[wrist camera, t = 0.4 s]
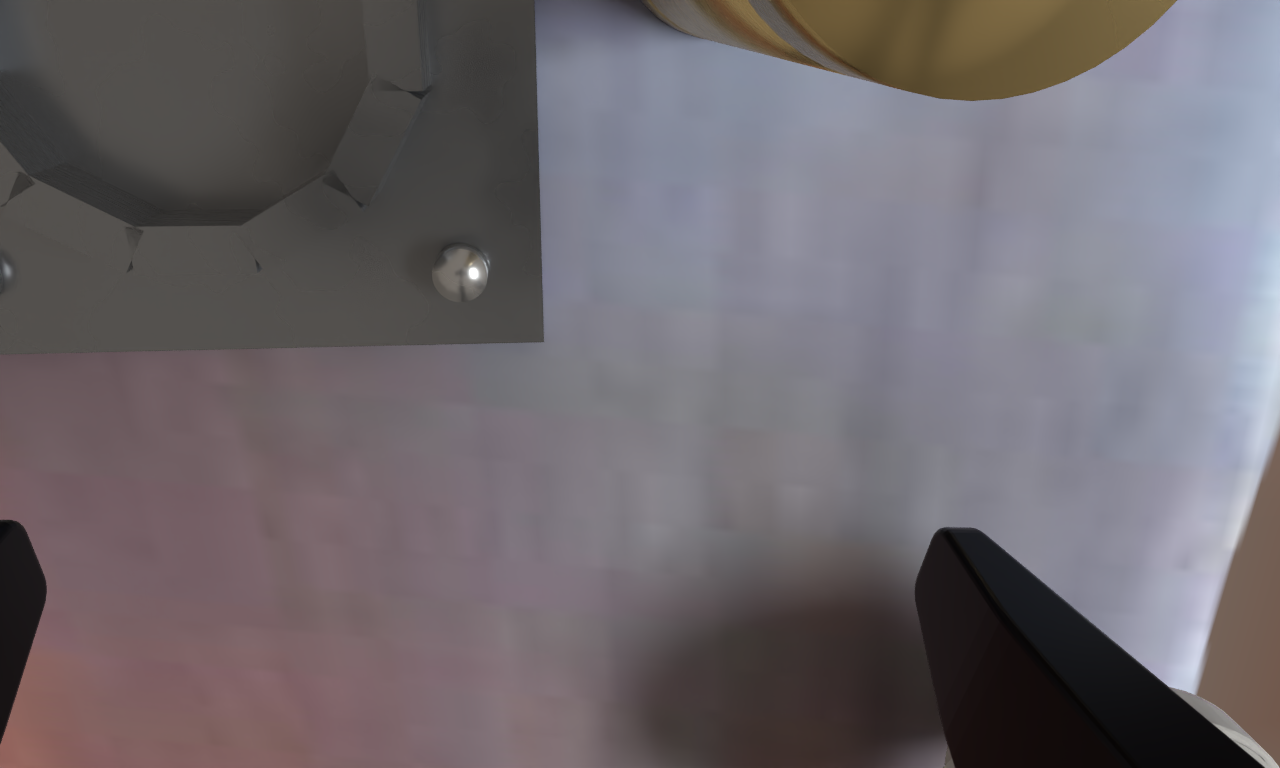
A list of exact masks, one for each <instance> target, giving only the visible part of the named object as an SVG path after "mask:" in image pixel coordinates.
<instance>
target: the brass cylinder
mask: <svg viewBox="0 0 1280 768" xmlns="http://www.w3.org/2000/svg"><path fill="white" fill-rule="evenodd" d="M1176 1H1177V0H642V2H643V3H644V4H645V6H646V7H647V8H648V9H650V10H651V11H652V12H653V13H654V14H655V15H656V16H657V17H658V18H660V19H661V20H662V21H664V22H665V23H666V24H668V25H670V26H671V27H673V28H675V29H677V30H679V31H681V32H684V33H686V34H689V35H692V36H695V37H699V38H703V39H707V40H711V41H715V42H718V43H722V44H726V45H730V46H734V47H738V48H742V49H746V50H749V51H753V52H757V53H761V54H765V55H769V56H773V57H777V58H781V59H784V60H788V61H792V62H796V63H800V64H804V65H808V66H812V67H816V68H819V69H823V70H827V71H831V72H835V73H839V74H843V75H847V76H850V77H854V78H858V79H862V80H866V81H870V82H874V83H878V84H882V85H885V86H889V87H893V88H897V89H901V90H905V91H909V92H913V93H918V94H922V95H926V96H931V97H935V98H940V99H953V100H966V101H977V100H991V99H1004V98H1009V97H1014V96H1018V95H1023V94H1028V93H1033V92H1036V91H1039V90H1042V89H1045V88H1048V87H1051V86H1054V85H1057V84H1059V83H1062V82H1065V81H1067V80H1069V79H1071V78H1073V77H1075V76H1078V75H1080V74H1082V73H1084V72H1086V71H1088V70H1090V69H1092V68H1094V67H1096V66H1097V65H1099V64H1100V63H1102V62H1104V61H1105V60H1107V59H1108V58H1110V57H1111V56H1113V55H1114V54H1116V53H1118V52H1119V51H1121V50H1122V49H1124V48H1125V47H1126V46H1128V45H1129V44H1130V43H1131V42H1133V41H1134V40H1135V39H1136V38H1137V37H1139V36H1140V35H1141V34H1142V33H1144V32H1145V31H1146V30H1147V29H1148V28H1150V27H1151V26H1152V25H1153V24H1154V23H1155V22H1156V21H1157V20H1158V19H1159V18H1160V17H1161V16H1162V15H1163V14H1164V13H1165V12H1166V11H1167V10H1168V9H1169V8H1170V7H1171V6H1172V5H1173V4H1174V3H1175V2H1176Z"/></svg>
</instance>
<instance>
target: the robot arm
mask: <svg viewBox="0 0 1280 768" xmlns="http://www.w3.org/2000/svg"><path fill="white" fill-rule="evenodd" d="M46 594H47V586H46V580H45V576H44V574H43V571H42V569H41V566H40V564H39V561H38V559H37V556H36V554H35V552H34V549H33V547H32V544H31V542H30V539H29V537H28V534H27V532H26V530H25V528H24V527H23V526H22V525H21V524H20V523H18V522H17V521H13V520H0V743H1V741H2V738H3V735H4V732H5V729H6V726H7V723H8V720H9V716H10V713H11V710H12V707H13V704H14V701H15V697H16V694H17V691H18V688H19V685H20V681H21V678H22V675H23V672H24V669H25V666H26V662H27V659H28V656H29V653H30V650H31V646H32V643H33V640H34V637H35V634H36V631H37V627H38V624H39V621H40V618H41V615H42V611H43V608H44V605H45V601H46ZM915 601H916V607H917V611H918V616H919V621H920V625H921V630H922V635H923V639H924V644H925V649H926V653H927V658H928V663H929V667H930V672H931V677H932V681H933V686H934V691H935V695H936V700H937V705H938V709H939V714H940V718H941V722H942V726H943V730H944V734H945V738H946V741H947V744H948V747H949V751H950V754H951V757H952V760H953V763H954V766H955V768H1265V767H1264V766H1263V765H1262V764H1260V763H1259V762H1258V761H1257V760H1256V759H1254V758H1253V757H1252V756H1251V755H1250V754H1248V753H1247V752H1246V751H1245V750H1244V749H1242V748H1241V747H1240V746H1239V745H1238V744H1236V743H1235V742H1234V741H1233V740H1232V739H1230V738H1229V737H1228V736H1227V735H1226V734H1224V733H1223V732H1222V731H1221V730H1220V729H1218V728H1217V727H1216V726H1215V725H1214V724H1212V723H1211V722H1210V721H1209V720H1208V719H1206V718H1205V717H1204V716H1203V715H1202V714H1200V713H1199V712H1198V711H1197V710H1196V709H1194V708H1193V707H1192V706H1191V705H1190V704H1188V703H1187V702H1186V701H1185V700H1184V699H1182V698H1181V697H1180V696H1179V695H1178V694H1176V693H1175V692H1174V691H1173V690H1172V689H1170V688H1169V687H1168V686H1167V685H1166V684H1164V683H1163V682H1162V681H1161V680H1160V679H1158V678H1157V677H1156V676H1155V675H1154V674H1152V673H1151V672H1150V671H1149V670H1148V669H1146V668H1145V667H1144V666H1143V665H1142V664H1140V663H1139V662H1138V661H1137V660H1136V659H1134V658H1133V657H1132V656H1131V655H1130V654H1128V653H1127V652H1126V651H1125V650H1124V649H1122V648H1121V647H1120V646H1119V645H1118V644H1116V643H1115V642H1114V641H1113V640H1112V639H1110V638H1109V637H1108V636H1107V635H1106V634H1104V633H1103V632H1102V631H1101V630H1100V629H1098V628H1097V627H1096V626H1095V625H1094V624H1092V623H1091V622H1090V621H1089V620H1088V619H1086V618H1085V617H1084V616H1083V615H1082V614H1080V613H1079V612H1078V611H1077V610H1076V609H1074V608H1073V607H1072V606H1071V605H1070V604H1068V603H1067V602H1066V601H1065V600H1064V599H1062V598H1061V597H1060V596H1059V595H1058V594H1056V593H1055V592H1054V591H1053V590H1052V589H1050V588H1049V587H1048V586H1047V585H1046V584H1044V583H1043V582H1042V581H1041V580H1040V579H1038V578H1037V577H1036V576H1035V575H1034V574H1032V573H1031V572H1030V571H1029V570H1028V569H1026V568H1025V567H1024V566H1023V565H1022V564H1020V563H1019V562H1018V561H1017V560H1016V559H1014V558H1013V557H1012V556H1011V555H1010V554H1008V553H1007V552H1006V551H1005V550H1004V549H1002V548H1001V547H1000V546H999V545H998V544H996V543H995V542H994V541H993V540H992V539H990V538H989V537H988V536H987V535H986V534H984V533H983V532H981V531H980V530H978V529H975V528H952V527H944V528H941V529H939V530H938V531H937V532H936V533H935V534H934V536H933V538H932V540H931V542H930V545H929V548H928V550H927V553H926V555H925V558H924V561H923V563H922V566H921V568H920V571H919V573H918V576H917V579H916V584H915Z"/></svg>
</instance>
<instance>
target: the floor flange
mask: <svg viewBox="0 0 1280 768" xmlns="http://www.w3.org/2000/svg"><path fill="white" fill-rule="evenodd" d="M524 342H544V332H543V297H542V261H541V225H540V189H539V153H538V117H537V81H536V46H535V10H534V0H0V354H39V353H83V352H127V351H171V350H215V349H260V348H304V347H348V346H392V345H436V344H480V343H524Z"/></svg>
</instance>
